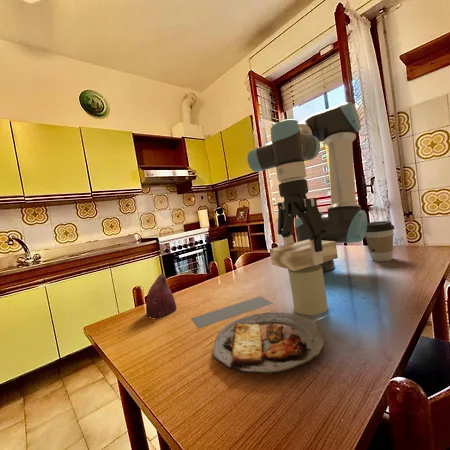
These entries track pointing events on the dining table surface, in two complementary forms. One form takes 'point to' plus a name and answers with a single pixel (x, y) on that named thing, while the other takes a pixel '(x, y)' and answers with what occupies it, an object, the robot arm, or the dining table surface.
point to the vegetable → (160, 299)
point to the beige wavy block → (301, 254)
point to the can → (308, 290)
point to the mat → (229, 311)
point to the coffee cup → (380, 240)
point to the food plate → (268, 343)
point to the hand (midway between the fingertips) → (303, 261)
